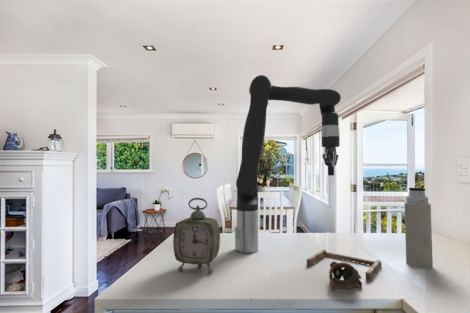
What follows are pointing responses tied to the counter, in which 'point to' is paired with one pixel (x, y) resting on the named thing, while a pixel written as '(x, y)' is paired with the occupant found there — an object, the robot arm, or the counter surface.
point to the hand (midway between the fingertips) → (331, 175)
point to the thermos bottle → (418, 230)
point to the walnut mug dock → (369, 273)
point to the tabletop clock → (196, 239)
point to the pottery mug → (348, 275)
